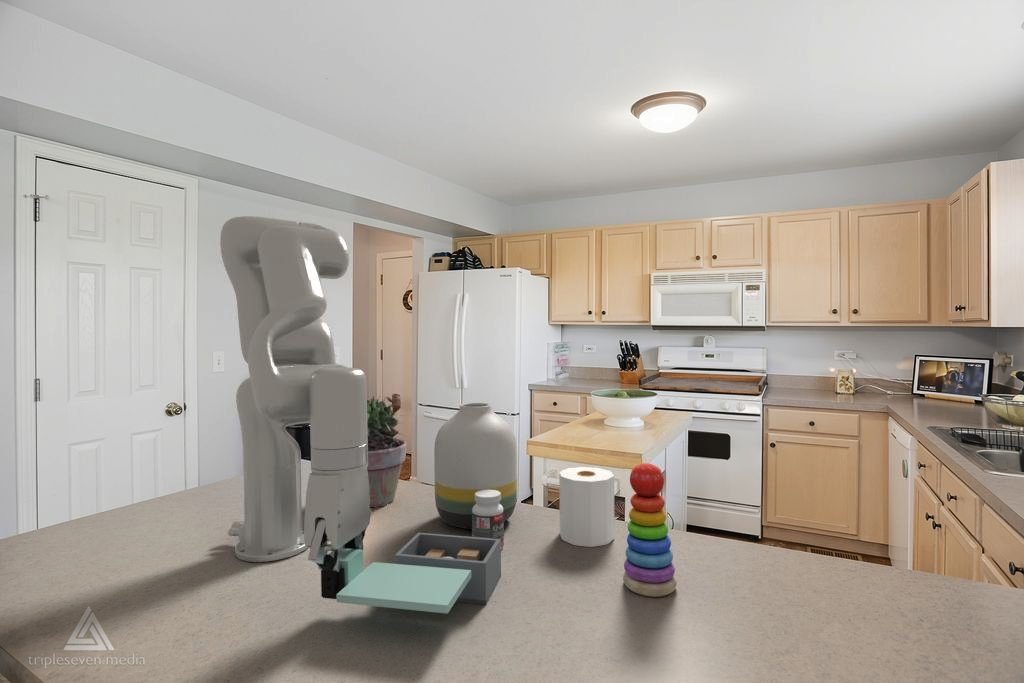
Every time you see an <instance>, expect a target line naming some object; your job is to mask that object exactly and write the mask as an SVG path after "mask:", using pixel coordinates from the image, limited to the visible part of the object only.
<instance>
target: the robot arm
mask: <svg viewBox="0 0 1024 683" xmlns="http://www.w3.org/2000/svg"><path fill="white" fill-rule="evenodd" d="M219 237H220V242H219V243H220V253H221V254H220V255H221V258H222V263H223V266H224V268H225V272H226V274H227V276H228V278H229V281H230V283H231V285H232V287H233V290H234V293H235V297H236V298H235V299H236V306H237V307H236V308H237V320H238V329H239V339H240V340H239V342H240V348H241V349H240V350H241V353H242V356H243V359H244V361H245V363H246V364H247V367H248V373H249V378H246V379H245V380H244V381H242V382H241V383H240V385H239V386H238V388H237V391H236V394H235V395H236V397H235V400H236V401H235V403H236V410H237V413H238V420H239V424H240V430H241V438H242V440H241V441H242V456H243V457H242V460H243V464H242V465H243V470H242V472H243V510H244V511H243V515H244V517H243V520H244V521H243V520H235V521H233V522H232V524H231V527H230V528H229V529H228V530H227V531H228V532H227V534H228V536H231V537H238V539H239V542H238V543H237V544H236V545H235V548H234V555H235V557H236V558H238V559H240V560H242V561H245V562H251V563H264V562H265V563H266V562H271V561H272V562H274V561H279V560H283V559H287V558H290V557H293V556H296V555H298V554H301V553H303V552H304V551H305V550H307V549H309V548H310V549H309V551H308V556H307V558H308V559H307V560H308V561H310V562H312V563H314V564H316V565H317V567H318V570H319V571H320V589H321V590H320V592H321V594H320V596H321V597H322V599H331V600H336V594H338V593H339V592H340V591H341V590H342V589H343V588H344V587H345V572H344V568H341V565H342V551H343V548H346V549H359V550H363V551H364V548H365V547H364V538H365V536H366V531H367V529H368V527H369V525H370V522H371V508H370V490H369V479H368V471H367V467H368V431H367V400H368V394H367V392H368V390H367V388H368V387H367V377H366V374H365V372H364V371H363V370H362V369H360V368H356V367H347V366H346V365H343V364H337V362H336V354H335V347H334V339H333V334H332V332H331V329H330V328H329V325H328V324H327V323H326V322H325V321H324V320H323V319H321V317H323V316H324V314H325V312H326V311H327V306H328V304H327V300H326V296H325V292H324V288H323V286H322V280H321V279H326V280H327V279H329V280H337V279H340V278H342V277H344V275H345V274H346V273H347V271H348V268H349V264H350V254H349V249H348V245H347V243H346V242H345V240H344V238H343V237H342V235H341V234H339V233H338V232H337V231H335V230H333V229H329V228H327V227H324V226H323V225H320V224H315V223H310V222H302V221H295V220H288V219H287V220H286V219H280V218H273V217H265V216H263V217H262V216H253V215H251V216H250V215H247V216H235V217H232V218H230V219H228V220H226V221H225V222H224V223H223V225H222V228H221V232H220V236H219ZM302 424H309V429H310V430H309V436H310V437H309V438H310V439H309V441H310V442H309V443H310V471H311V473H309V475H308V480H307V486H306V492H305V494H306V495H305V504H304V506H305V507H304V522H303V518H302V516H303V514H302V513H303V512H302V511H303V510H302V505H303V503H302V501H303V500H302V453H301V447H300V445H299V443H298V442H297V441H296V439H295V438H294V437H293V436H292V435H291V434H290V433H289V432H288V431H287V427H289V426H294V425H302ZM303 523H304V528H303ZM328 542H330V543H328ZM332 551H334V558H333V557H332V556H331V555H328V554H329V553H328V552H332Z"/></svg>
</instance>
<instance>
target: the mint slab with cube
mask: <svg viewBox="0 0 1024 683" xmlns="http://www.w3.org/2000/svg"><path fill="white" fill-rule="evenodd" d="M363 552H364V549H363V550H359V549H346V548H343V551H342V565H341V568H344V572H345V587H344V588H343V589H342V590H341V591H340V592H339V593H338V594H336V599H335V600H336V603H339V604H348V605H349V604H351V605H359V606H361V605H362V606H369V607H380V608H388V609H389V608H390V609H397V610H398V609H399V610H410V611H418V612H420V611H421V612H429V613H439V614H449V612H450V611H451V609H452V607H453V606H454V604H455V603H456V602H455V601H456V600H457V598H458V597H459V595H460V594H461V592H462V591H463V589H464V588H465V586H466V585H467V583H468V582H469V580H470V579H471V570H463V569H451V568H439V567H426V566H414V565H402V564H395V563H390V562H389V563H387V562H377V561H373V562H372V563H371V564H369V565H368V566H367V567H366V568H365V569H364V553H363ZM327 554H328V555H331V556H332V557H333V558H334V551H330V552H329V553H327Z"/></svg>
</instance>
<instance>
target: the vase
mask: <svg viewBox="0 0 1024 683" xmlns="http://www.w3.org/2000/svg"><path fill="white" fill-rule="evenodd" d="M516 439H517V438H516V435H515V432H514V430H513V428H512V427H511V425H510V424H509V423H508V422H507V421H506V420H504V419H503V418H502V417H501V416H499V415H498V414H496V412H494V411H493V409H492V405H491V404H490V403H487V402H467V403H461V404H460V405H459V409H458V411H457V412H456V413H455V414H454V415H453V416H451V417H450V418H449V419H447V420H446V421H445V422H444V423H443V424H442V425H441V427H440V428H439V430H438V431H437V433H436V436H435V441H434V451H433V453H434V454H433V455H434V456H433V458H434V459H433V460H434V464H433V465H434V472H433V473H434V499H435V500H434V501H435V507H436V510H437V513H438V515H439V517H440V519H441V520H442V521H444V523H446V524H448V525H450V526H452V527H456V528H461V529H470V530H472V508H473V506H474V505H475V504H476V501H475V493H476V492H478V491H481V490H497V491H499V492H500V493H501V500H500V502H499V504H501V505H502V507H503V513H504V514H503V515H504V520H503V521H504V523H505V522H506V521H507V520H509V519H510V518H511V516H513V513H514V511H515V509H516V505H517V496H518V495H517V494H518V473H517V472H518V463H517V462H518V451H517V450H518V447H517V440H516Z"/></svg>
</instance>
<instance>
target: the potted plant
mask: <svg viewBox="0 0 1024 683" xmlns="http://www.w3.org/2000/svg"><path fill="white" fill-rule="evenodd" d="M379 398H381V396H380V395H379V396H378V398H377V399H376V398H375V396H374V395H373V396H372V398H370V400H369V399H367V431H368V467H367V471H368V479H369V490H370V507H376V508H380V507H379V506H381V507H383V506H384V505H385V506H388V505H389V503H390V504H391V502H392V503H393V502H394V500H395V497H396V493H397V489H398V484H399V480H400V475H401V471H402V467H403V463H405V460H406V456H407V455H406V453H407V442H406V441H405V440H403V439H400V438H397V437H395V436H396V435H398V434H399V435H401V433H400V432H399V430H397V429H396V427H397V425H398V424H399V421H398V419H397V418H395V417H394V416H395V415H396V413H397V412H398V411H399V410H400V409H401V407H402V402H401V395H400V394H399V393H393V394H392V395H391V397H390V396H386V397H384V398H383V400H380V401H379ZM385 400H386V401H388V402H390V403H391V404H390V405H388V406H387V405H386V402H385ZM401 416H405V417H406V415H402V414H401ZM401 424H402V425H403V423H402V422H401ZM403 436H405V434H403ZM387 504H388V505H387ZM385 506H384V507H385Z"/></svg>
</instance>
